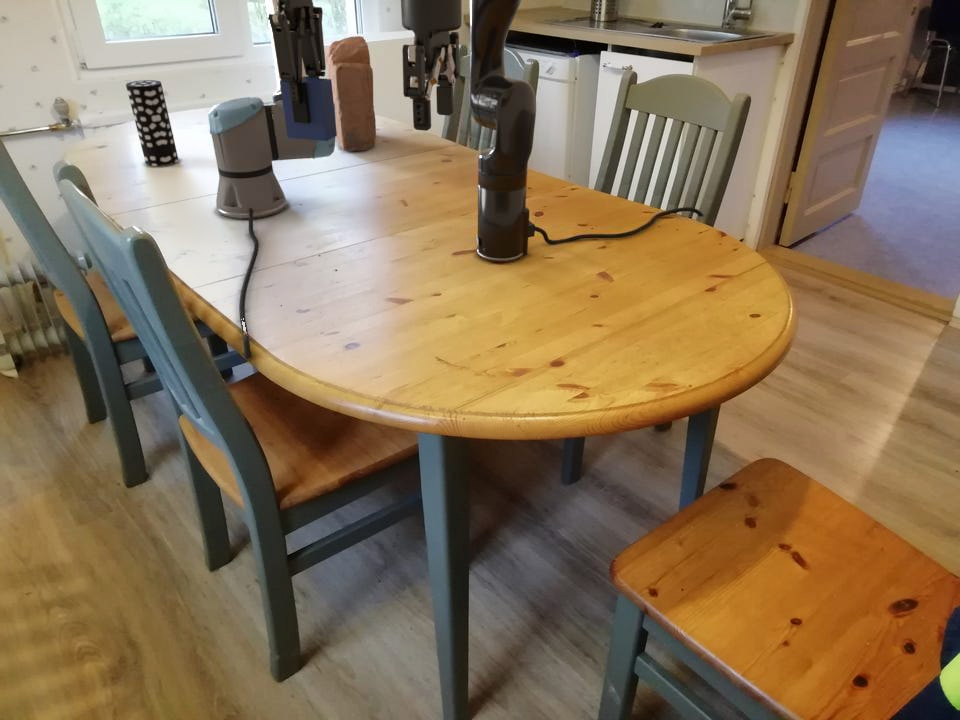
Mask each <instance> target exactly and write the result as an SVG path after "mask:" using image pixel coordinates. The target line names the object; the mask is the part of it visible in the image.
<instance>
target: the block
mask: <svg viewBox="0 0 960 720" xmlns="http://www.w3.org/2000/svg"><path fill="white" fill-rule="evenodd" d="M302 82H306V88H307V96H308V105H309V113H310V122H311V123H297V122H294V116H293V108H292V101H291V94H290V87H289V83H288V82H283V81H282V80H280V87H281V95H282V102H283V109H284V116H285V123H286V131H287V137H288V138H298V139H309V140H320V141H328V140H329V139H331V138H333V137H335V138H336V136H337V131H336V121H335V112H334V102H333V92H332V82H331V79H328V78H321V77H319V78H308V77H302Z"/></svg>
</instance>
